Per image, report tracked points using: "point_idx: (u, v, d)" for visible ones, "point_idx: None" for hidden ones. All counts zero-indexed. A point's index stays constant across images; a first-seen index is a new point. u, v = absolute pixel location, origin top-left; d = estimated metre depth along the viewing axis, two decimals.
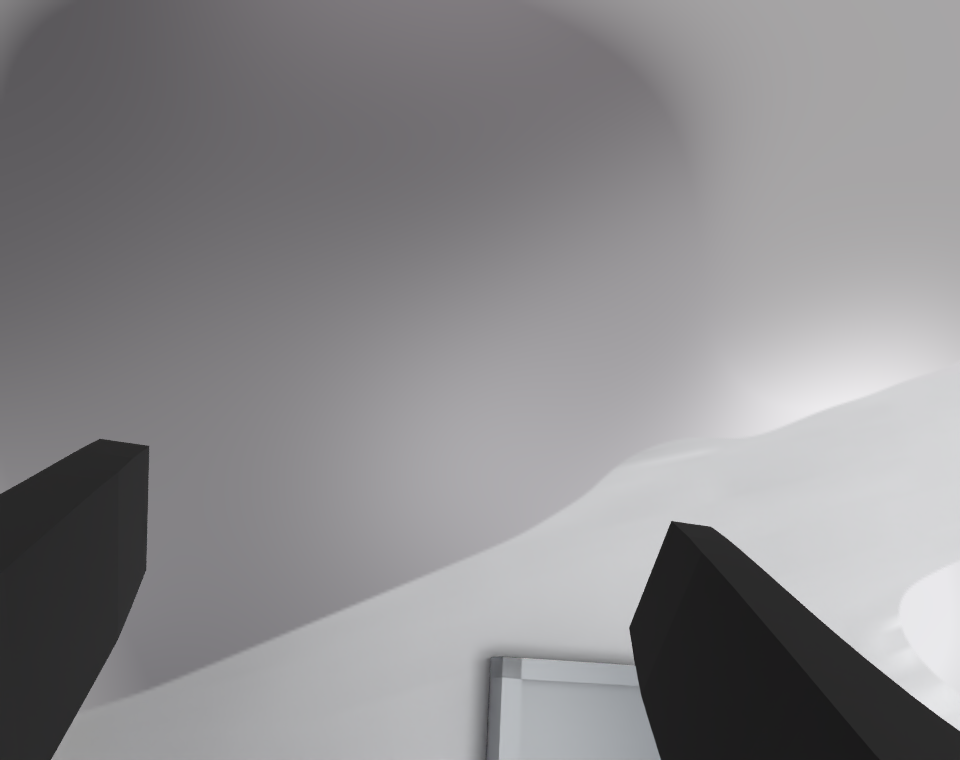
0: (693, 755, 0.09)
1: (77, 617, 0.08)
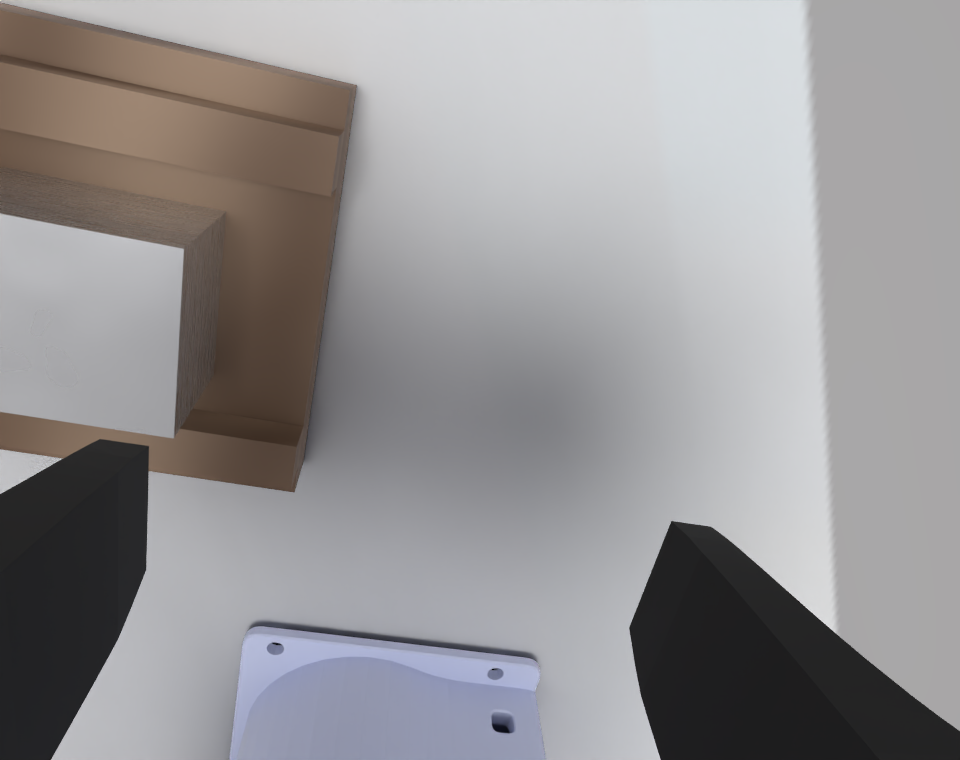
0: (693, 755, 0.09)
1: (77, 617, 0.08)
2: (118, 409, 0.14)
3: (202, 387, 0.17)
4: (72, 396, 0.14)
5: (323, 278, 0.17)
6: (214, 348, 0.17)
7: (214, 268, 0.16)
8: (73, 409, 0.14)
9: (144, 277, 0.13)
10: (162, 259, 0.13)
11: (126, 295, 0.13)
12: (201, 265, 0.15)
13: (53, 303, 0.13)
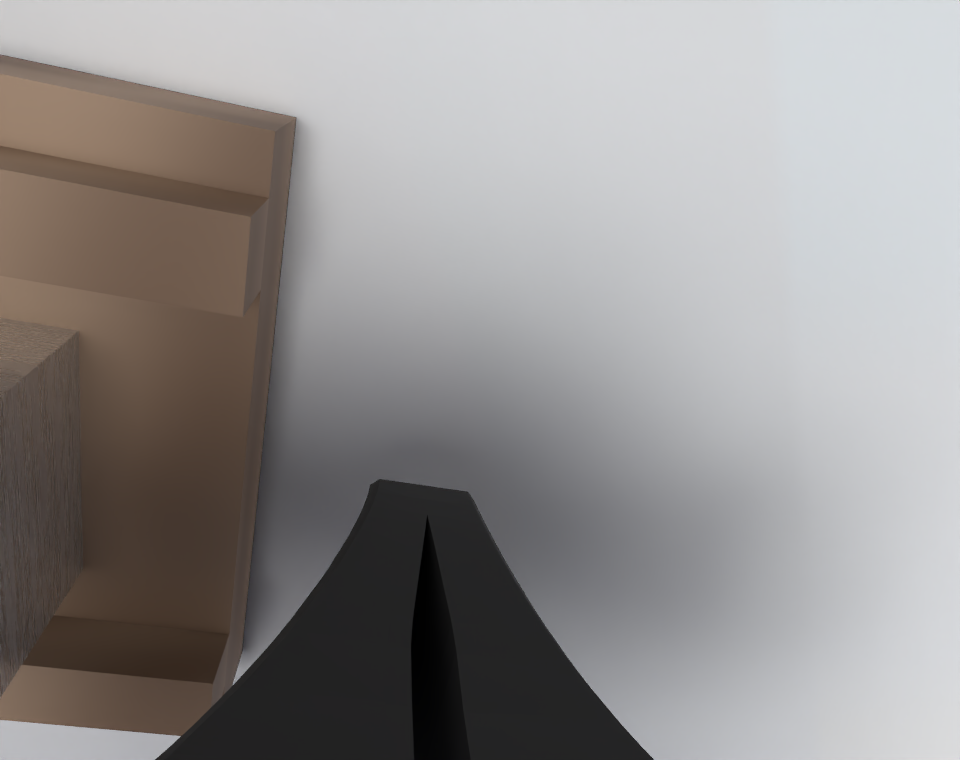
0: None
1: None
2: None
3: (53, 607, 0.10)
4: None
5: (247, 427, 0.10)
6: (78, 534, 0.11)
7: (58, 427, 0.09)
8: None
9: None
10: None
11: None
12: (15, 444, 0.08)
13: None
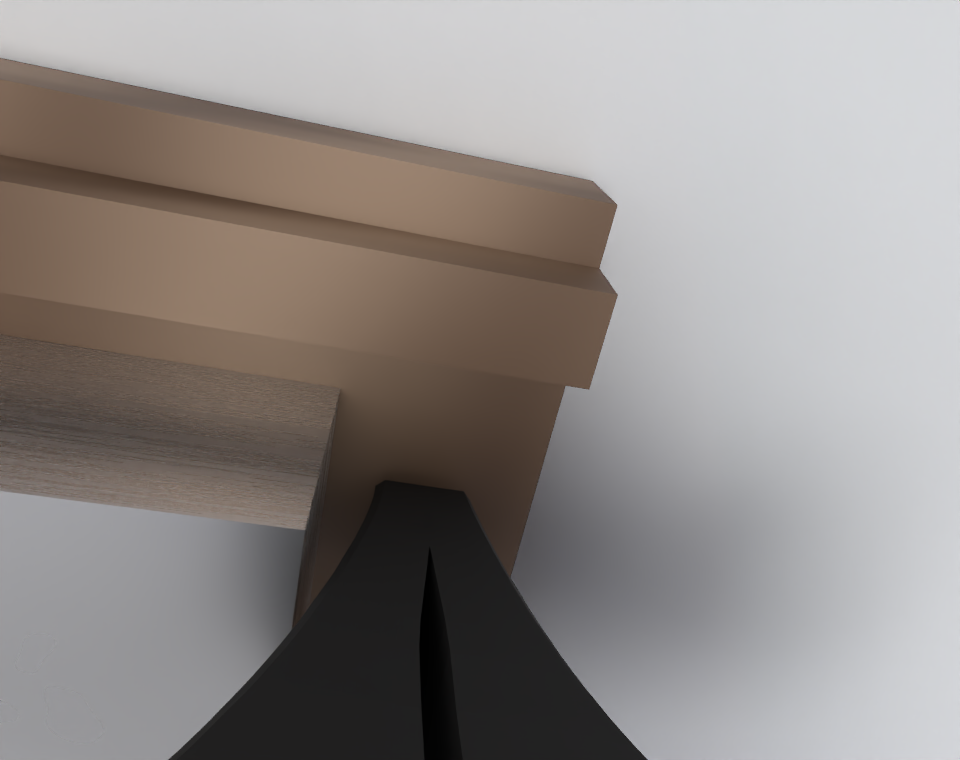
0: None
1: None
2: None
3: None
4: (93, 755, 0.08)
5: (534, 485, 0.10)
6: None
7: (323, 485, 0.09)
8: None
9: (226, 578, 0.07)
10: (261, 548, 0.07)
11: (193, 607, 0.07)
12: (315, 510, 0.08)
13: (58, 623, 0.07)
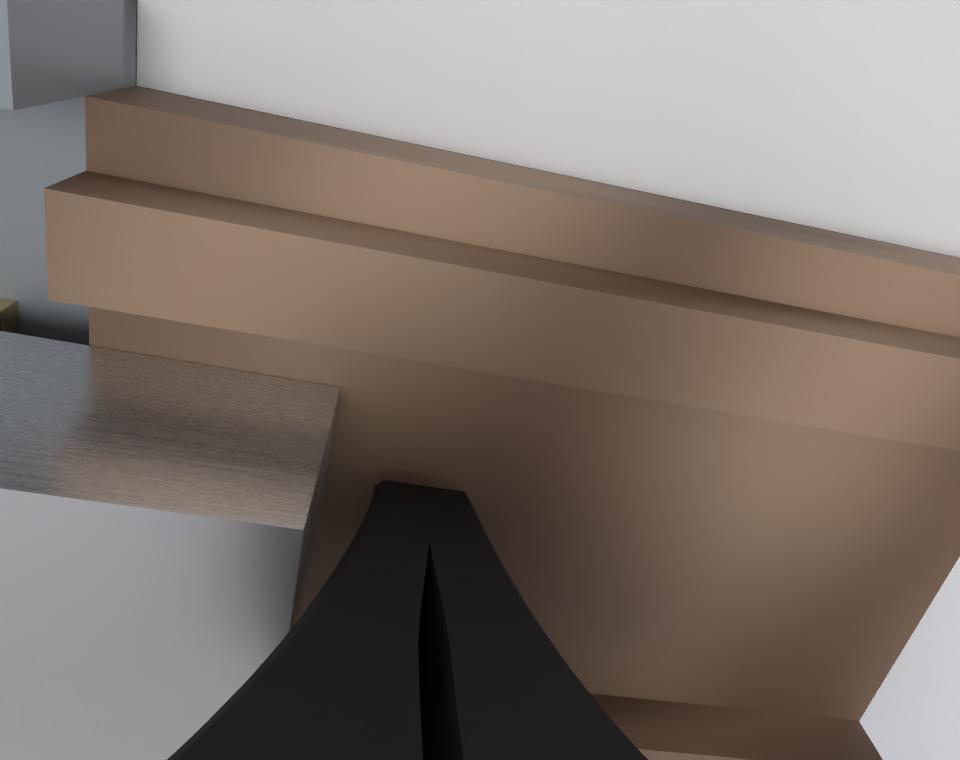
0: None
1: None
2: None
3: None
4: (90, 753, 0.08)
5: (959, 546, 0.11)
6: None
7: (322, 484, 0.09)
8: None
9: (226, 576, 0.07)
10: (261, 548, 0.07)
11: (191, 606, 0.07)
12: (315, 508, 0.08)
13: (55, 621, 0.07)
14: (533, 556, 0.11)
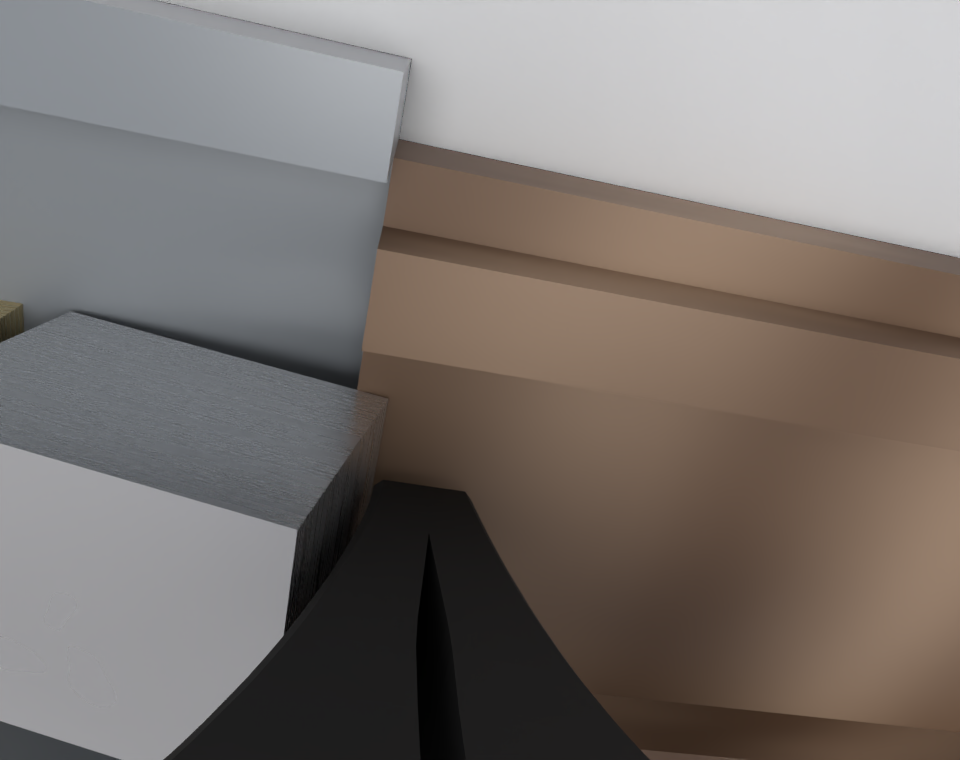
0: None
1: None
2: None
3: None
4: (107, 720, 0.08)
5: None
6: None
7: (360, 493, 0.09)
8: (108, 738, 0.08)
9: (225, 567, 0.07)
10: (258, 542, 0.07)
11: (195, 590, 0.07)
12: (336, 515, 0.08)
13: (80, 586, 0.08)
14: (738, 582, 0.11)
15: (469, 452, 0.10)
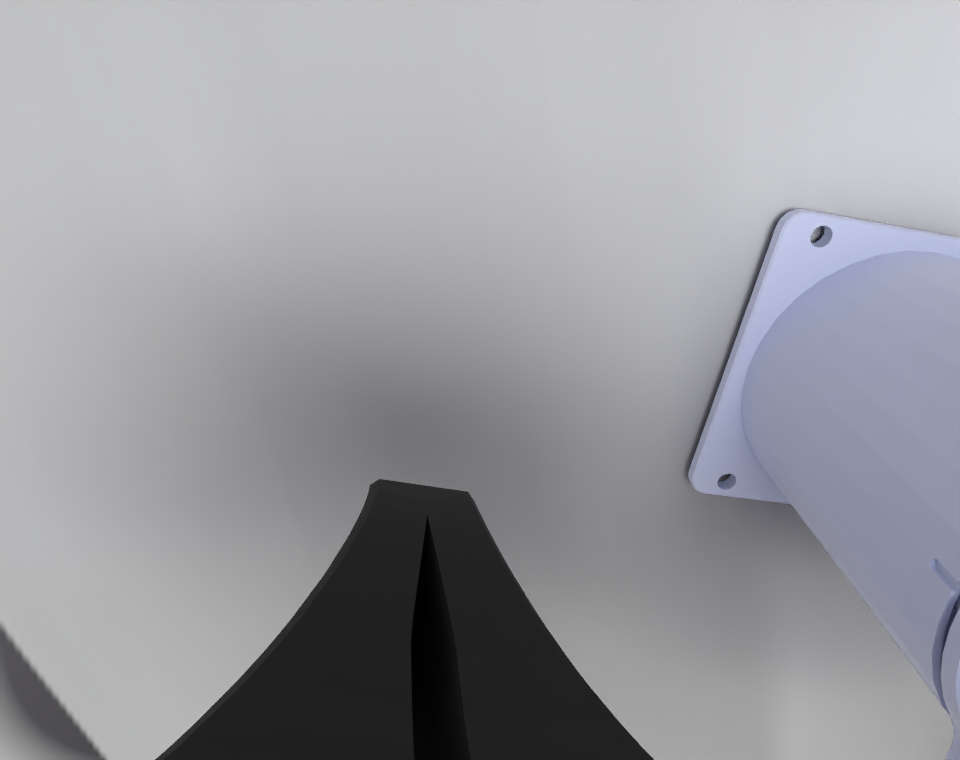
0: None
1: None
2: None
3: None
4: None
5: None
6: None
7: None
8: None
9: None
10: None
11: None
12: None
13: None
14: None
15: None
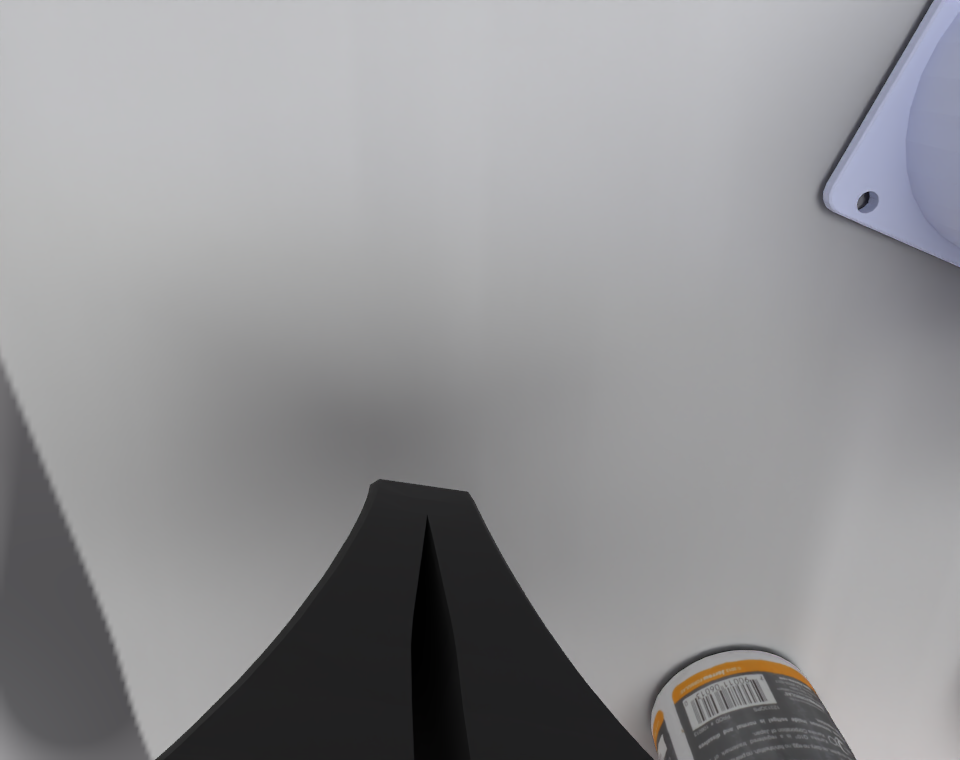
0: None
1: None
2: None
3: None
4: None
5: None
6: None
7: None
8: None
9: None
10: None
11: None
12: None
13: None
14: None
15: None
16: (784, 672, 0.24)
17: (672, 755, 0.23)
